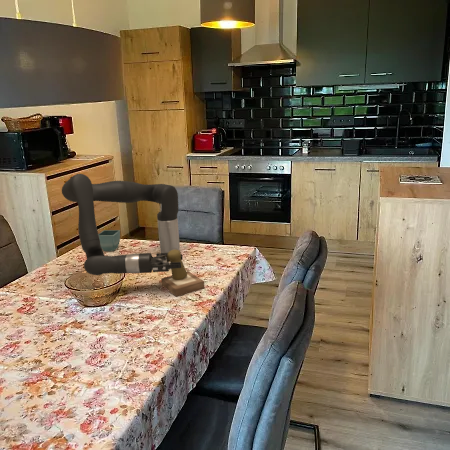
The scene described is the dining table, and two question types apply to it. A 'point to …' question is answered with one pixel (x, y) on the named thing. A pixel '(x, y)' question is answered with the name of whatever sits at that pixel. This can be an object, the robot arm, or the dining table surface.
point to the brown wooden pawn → (177, 272)
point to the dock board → (183, 284)
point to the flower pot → (109, 239)
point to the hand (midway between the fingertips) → (181, 260)
